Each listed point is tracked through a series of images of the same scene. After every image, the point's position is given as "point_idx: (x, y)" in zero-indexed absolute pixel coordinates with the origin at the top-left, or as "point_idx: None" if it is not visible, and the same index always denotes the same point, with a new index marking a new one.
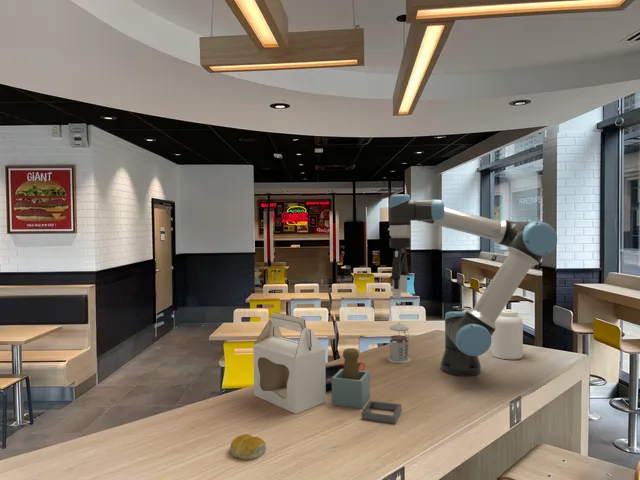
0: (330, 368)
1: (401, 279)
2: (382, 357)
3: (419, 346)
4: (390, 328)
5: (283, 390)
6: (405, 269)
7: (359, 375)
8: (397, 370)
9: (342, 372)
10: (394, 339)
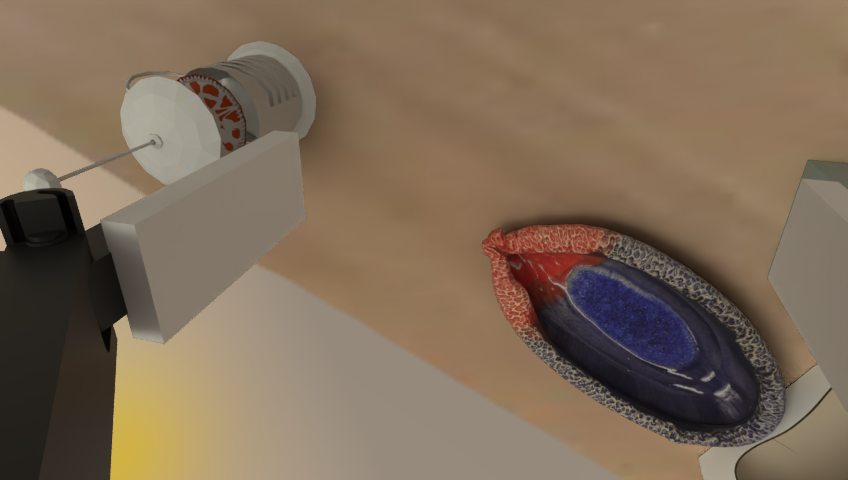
0: (564, 351)
1: (203, 277)
2: None
3: (41, 26)
4: None
5: (756, 455)
6: (73, 320)
7: None
8: (418, 85)
9: None
10: (245, 141)
